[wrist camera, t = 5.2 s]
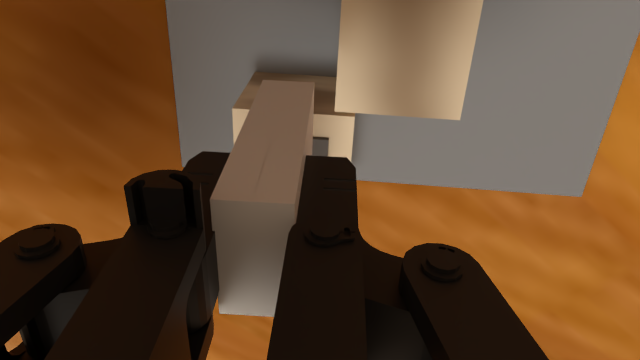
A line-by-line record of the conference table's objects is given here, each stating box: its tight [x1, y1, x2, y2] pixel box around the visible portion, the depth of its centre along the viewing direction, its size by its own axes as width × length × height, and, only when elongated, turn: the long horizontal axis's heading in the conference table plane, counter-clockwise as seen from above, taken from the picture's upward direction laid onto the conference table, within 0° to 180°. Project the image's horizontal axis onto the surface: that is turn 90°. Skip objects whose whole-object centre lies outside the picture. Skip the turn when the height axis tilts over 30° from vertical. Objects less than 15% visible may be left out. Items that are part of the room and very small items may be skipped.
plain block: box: [335, 0, 483, 120], centre depth 25 cm, size 6×6×6 cm
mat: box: [165, 0, 640, 197], centre depth 28 cm, size 26×20×1 cm
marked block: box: [232, 72, 355, 162], centre depth 28 cm, size 6×6×6 cm
